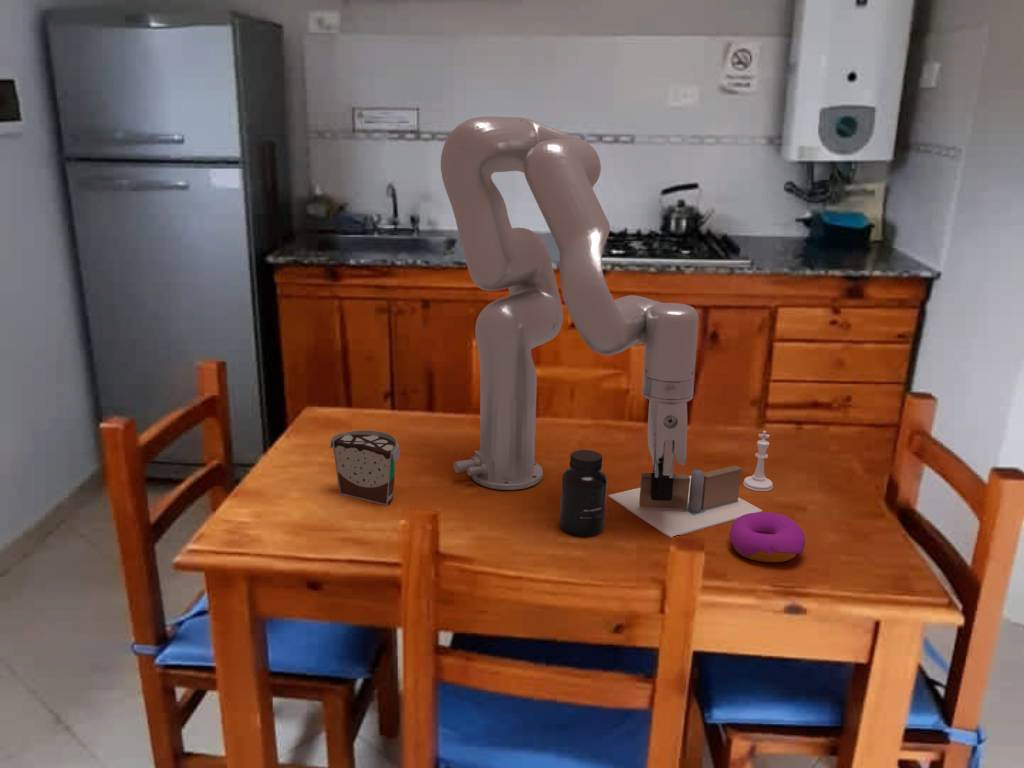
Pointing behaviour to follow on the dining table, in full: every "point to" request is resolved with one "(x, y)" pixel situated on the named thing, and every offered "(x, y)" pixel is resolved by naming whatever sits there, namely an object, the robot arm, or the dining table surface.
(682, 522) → the fence base
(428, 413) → the dining table surface
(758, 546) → the donut
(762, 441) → the chess piece
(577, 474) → the supplement bottle
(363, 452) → the food container
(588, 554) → the dining table surface
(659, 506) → the fence panel
